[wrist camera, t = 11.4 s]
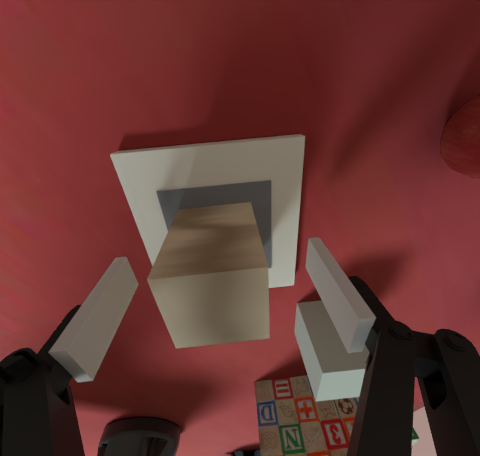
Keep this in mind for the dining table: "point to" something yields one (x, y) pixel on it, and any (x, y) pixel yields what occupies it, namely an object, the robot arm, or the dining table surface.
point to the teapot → (240, 453)
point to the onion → (463, 139)
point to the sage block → (327, 355)
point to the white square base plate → (220, 190)
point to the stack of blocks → (303, 420)
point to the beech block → (212, 277)
